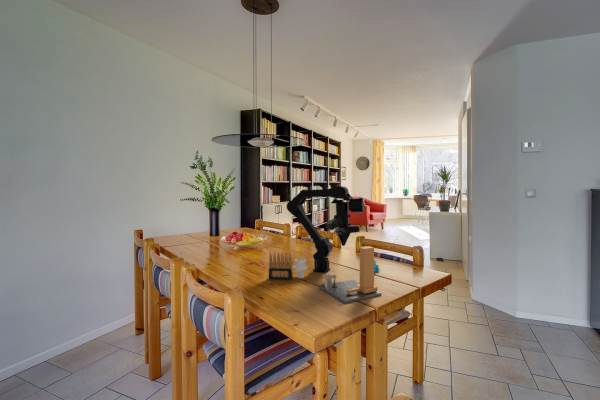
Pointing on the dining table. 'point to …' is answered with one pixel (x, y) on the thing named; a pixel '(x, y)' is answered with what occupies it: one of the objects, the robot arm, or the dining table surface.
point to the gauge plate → (345, 290)
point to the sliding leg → (366, 271)
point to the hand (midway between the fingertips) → (343, 245)
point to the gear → (376, 267)
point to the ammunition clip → (276, 270)
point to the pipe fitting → (300, 267)
